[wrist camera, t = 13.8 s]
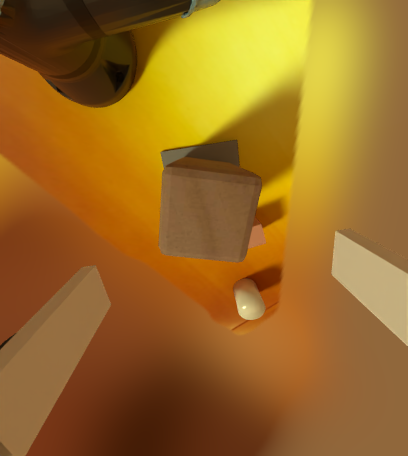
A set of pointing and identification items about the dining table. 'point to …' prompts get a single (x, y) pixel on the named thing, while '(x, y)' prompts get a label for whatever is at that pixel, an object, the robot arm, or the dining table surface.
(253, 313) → the cream rounded cylinder
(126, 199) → the dining table surface
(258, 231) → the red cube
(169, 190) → the wooden block
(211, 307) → the dining table surface
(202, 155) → the mat
